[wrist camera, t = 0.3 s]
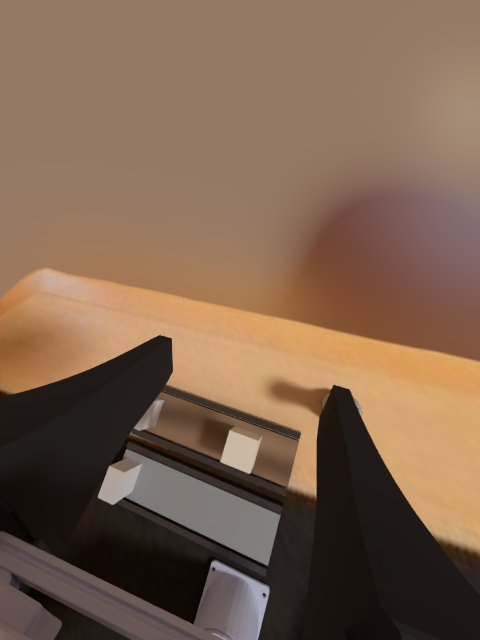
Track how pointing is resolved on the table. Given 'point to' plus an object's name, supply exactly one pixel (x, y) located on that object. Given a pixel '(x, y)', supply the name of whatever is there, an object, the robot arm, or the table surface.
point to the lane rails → (209, 478)
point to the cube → (241, 449)
